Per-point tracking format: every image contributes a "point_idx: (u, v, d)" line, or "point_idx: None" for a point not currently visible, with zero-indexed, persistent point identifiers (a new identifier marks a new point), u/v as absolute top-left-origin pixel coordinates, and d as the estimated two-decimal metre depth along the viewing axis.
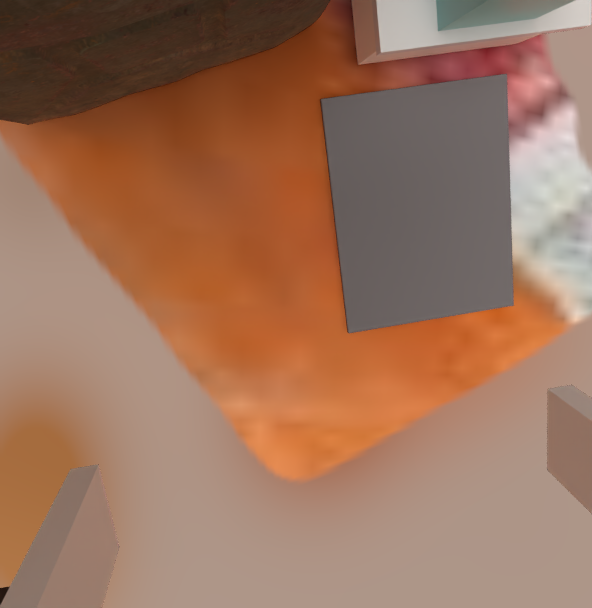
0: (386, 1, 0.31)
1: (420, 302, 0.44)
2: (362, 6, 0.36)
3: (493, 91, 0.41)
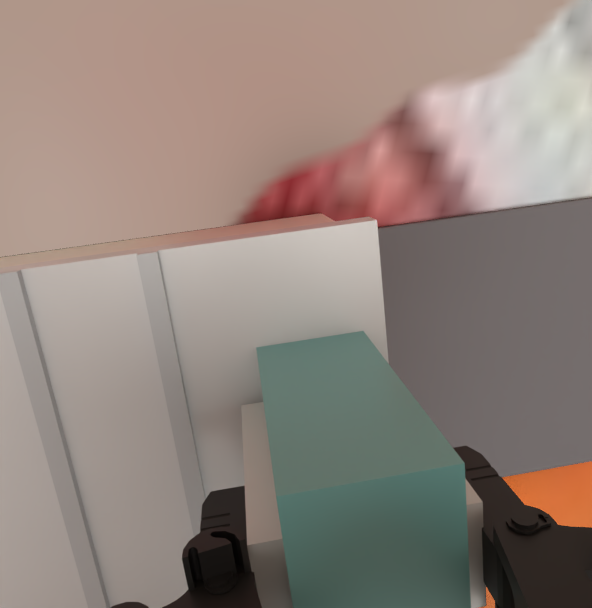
0: None
1: None
2: None
3: (394, 250, 0.25)
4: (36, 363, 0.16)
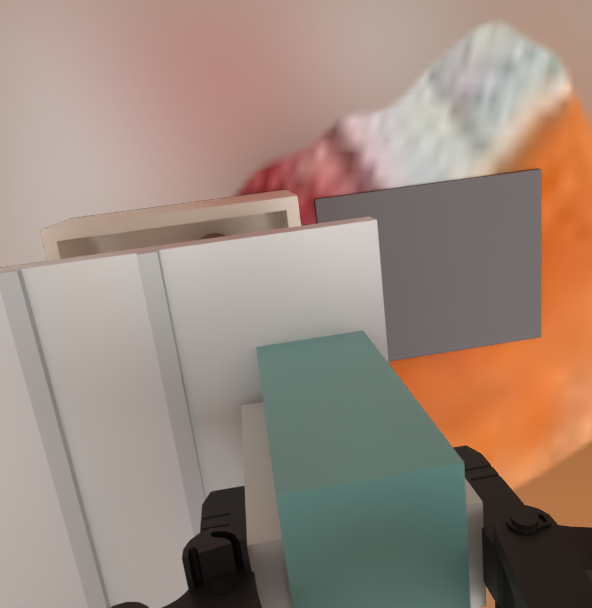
0: None
1: (522, 269, 0.45)
2: None
3: (330, 211, 0.42)
4: (36, 363, 0.16)
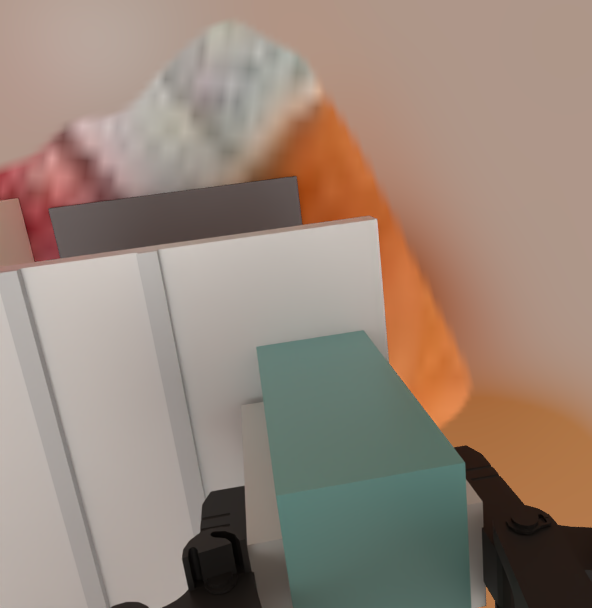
0: None
1: None
2: None
3: (67, 221, 0.39)
4: (36, 362, 0.16)
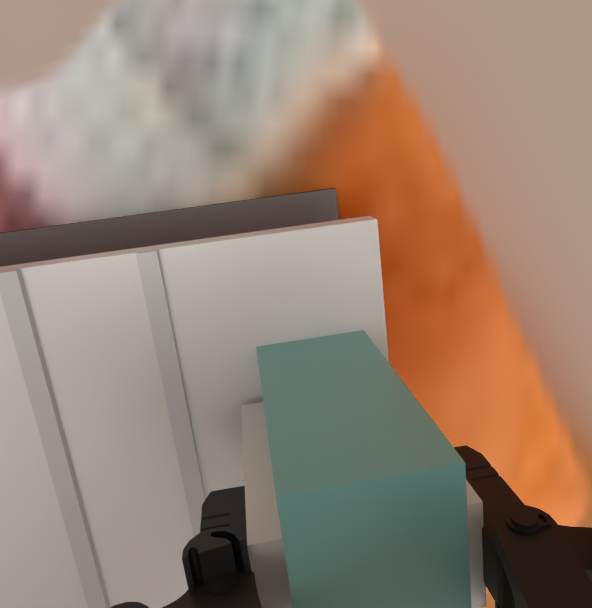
0: None
1: None
2: None
3: None
4: (36, 362, 0.16)
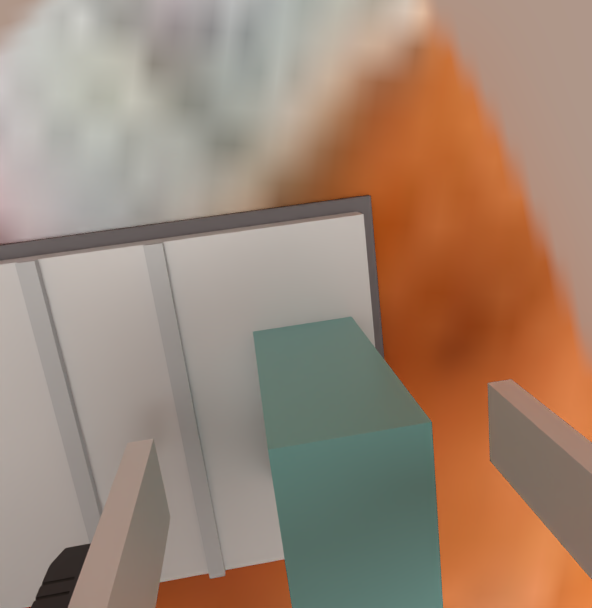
0: None
1: None
2: None
3: None
4: (51, 345, 0.18)
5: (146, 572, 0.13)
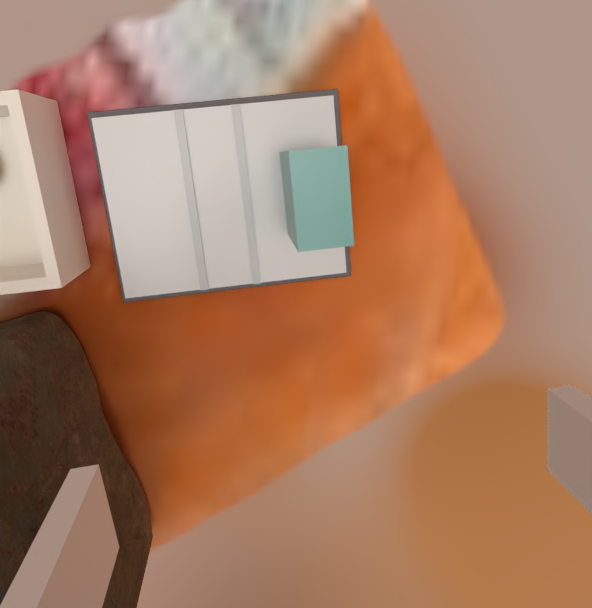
0: (312, 269, 0.42)
1: None
2: None
3: None
4: (186, 151, 0.39)
5: None
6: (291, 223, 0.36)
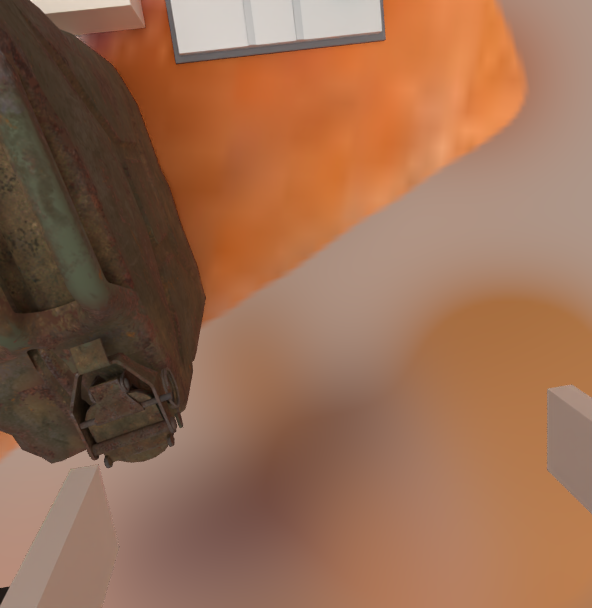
0: (350, 26, 0.46)
1: None
2: (99, 23, 0.42)
3: None
4: None
5: None
6: None
